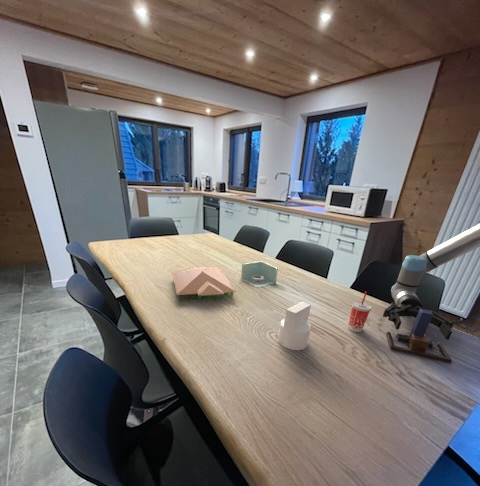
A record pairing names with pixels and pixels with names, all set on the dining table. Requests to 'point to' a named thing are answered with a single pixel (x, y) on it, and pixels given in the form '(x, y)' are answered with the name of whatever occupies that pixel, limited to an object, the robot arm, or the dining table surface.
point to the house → (202, 282)
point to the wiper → (418, 326)
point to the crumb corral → (443, 358)
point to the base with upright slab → (295, 327)
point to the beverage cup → (359, 315)
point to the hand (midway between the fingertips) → (423, 330)
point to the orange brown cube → (418, 342)
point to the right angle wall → (259, 273)
